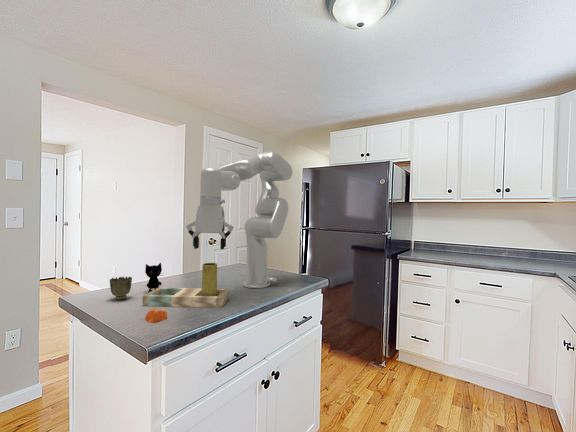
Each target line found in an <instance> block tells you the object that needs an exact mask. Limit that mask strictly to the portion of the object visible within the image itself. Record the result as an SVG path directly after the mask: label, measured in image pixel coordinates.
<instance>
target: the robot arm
mask: <svg viewBox="0 0 576 432" xmlns="http://www.w3.org/2000/svg"><path fill="white" fill-rule="evenodd" d="M258 174H259V179H260V182H261V185H262V189H261V193H260V195H259V198H258V201H257V203H256V206H255V214H256V216H251V217H249V218H248V219H247V220H246V221H245V222H244V223H245V224H244V232H245V240H246V261H245V262H246V265H245V266H246V267H245V268H246V269H245V270H246V271H245V272H246V273H245V274H246V275H245V279H246V280H244V281H243V282H242V286H243V288H244V287H245V288H248V289H263V288H267V287H269V286H271V283H277V277H274V276H271V277H270V276H269V273H268V245H267V242H266V240H265V239H277V238H279V237H280V235H281V234H282V232H283V229H284V226H285V223H286V220H287V217H288V213H289V204H288V201H287V200H286V199H285V198H283V197H279V196H280V190H279V188H278V186H277V185H276V183H275V182H279V181H280V182H285V181H286V182H287V181H289V180H290V179H291V178H292V176H293V168H292V166H291V164H290V163H289V162H288V161H287V160H286V159H285V158H284V157H282V156H281V154H280V153H278V152H275V151H264V152H263V151H262V152H256V153H254V154H251V155H250V156H248V157H245V158H243V159H241V160H239V161H236V162H232V163H230V164H227V165H223V166H221V167H219V168H211V167H209V168H203V169H202V170H201V171H200V186H199V187H200V191H199V193H200V195H199V205H198V206H197V210H196V214H195V221H193V222H191V223H189V224H186V225H185V226H186V229H187V231H188V233H189V235H190V236H191V237H192V246H193V249H194V250H196V249H199V248H200V237H199V235H201V234H219V236H220V237H221V238H220V250H224V249H225V247H226V246H227V238H228V237H229V236H230V235H231V234H232V232H233V229H234V226H233V225H232V224H230V223H228V222H226V221H225V220H226V219H225V218H226V217H225V209H224V206H222V204H225V203H226V200H225V199H223V198H222V192H224V191H225V192H226V191H227V192H228V191H230V192H231V191H235V190H237V189H238V188H239V187H240V184H241V182H242V181H243V182H244V181H246V180H251V179H252V178H253V177H255V176H257V175H258ZM193 227H194V230H195V231H194V230H193ZM226 228H228V230H227V231H226V232H225V230H226Z"/></svg>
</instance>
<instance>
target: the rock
mask: <svg viewBox="0 0 576 432" xmlns="http://www.w3.org/2000/svg"><path fill="white" fill-rule="evenodd" d="M167 316H168V311H167V310H165V309H163V310H162V309H156V308H151V309H150V310H148V311H147V314H146V315H145V318H144V320H145V321H147V323H149V324H153V323H154V324H155V323H157V322H158V323H159V322H162V321H165V320H167V318H168V317H167Z"/></svg>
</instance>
